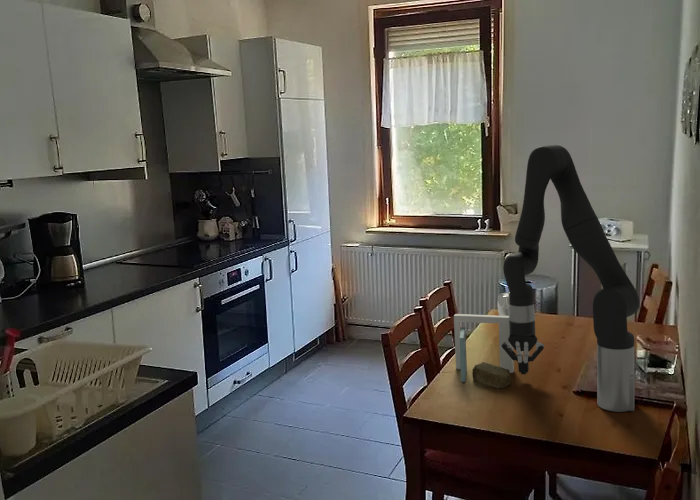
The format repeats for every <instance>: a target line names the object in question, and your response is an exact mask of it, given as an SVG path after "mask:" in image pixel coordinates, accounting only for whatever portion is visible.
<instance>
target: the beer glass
mask: <svg viewBox="0 0 700 500" xmlns="http://www.w3.org/2000/svg"><path fill="white" fill-rule="evenodd" d="M497 311H498V316H509V292H502V293H498V294H497Z"/></svg>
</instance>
